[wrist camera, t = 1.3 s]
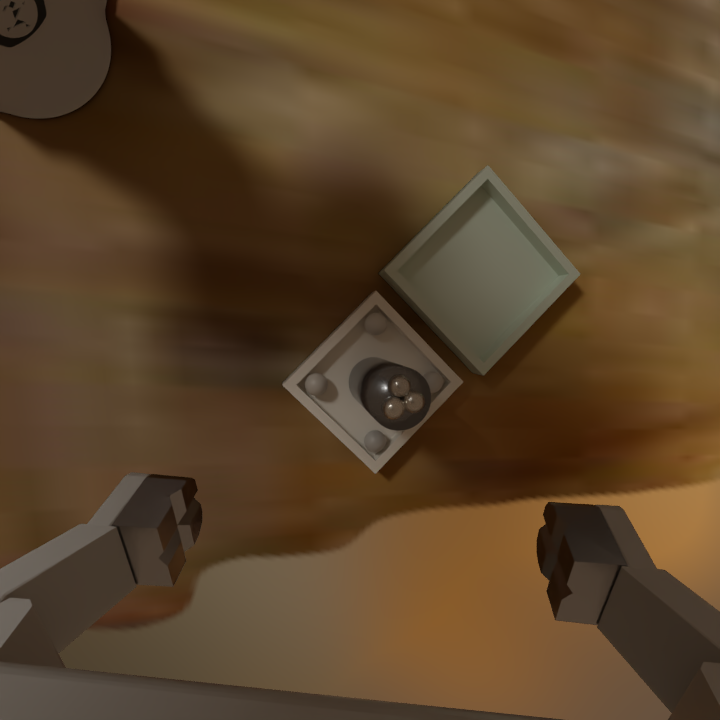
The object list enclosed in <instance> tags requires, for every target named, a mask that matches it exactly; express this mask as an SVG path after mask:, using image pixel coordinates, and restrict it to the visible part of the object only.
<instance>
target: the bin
mask: <svg viewBox="0 0 720 720" xmlns="http://www.w3.org/2000/svg"><path fill="white" fill-rule="evenodd" d="M378 274H379V275H380V276H381V277H382V278H383V279H384V280H385V281H386V282H387V283H388V284H389V285H390V286H391V287H392V288H393V289H394V290H395V292H396V293H397V294H398V295H399V296H400V297H401V298H402V299H403V300H404V301H405V302H406V303H407V304H408V305H409V306H410V307H411V308H412V309H413V311H414V312H415V313H416V314H417V315H418V316H419V317H420V318H421V319H422V320H423V321H424V322H425V323H426V324H427V325H428V326H429V327H430V328H431V330H432V331H433V332H434V333H435V334H436V335H437V336H438V337H439V338H440V339H441V340H442V341H443V342H444V343H445V344H446V345H447V346H448V347H449V349H450V350H451V351H452V352H453V353H454V354H455V355H456V356H457V357H458V358H459V359H460V360H461V361H462V362H463V363H464V364H465V365H466V367H467V368H468V369H469V370H470V371H471V372H472V373H475V374H479V375H483V376H484V375H485V374H486V373H487V372H488V371H489V370H490V368H491V367H492V366H493V365H494V364H495V363H496V362H497V361H498V360H499V359H500V358H501V357H502V356H503V355H504V354H505V353H506V352H507V351H508V350H509V349H510V348H511V346H512V345H513V344H514V343H515V342H516V341H517V340H518V339H519V338H520V337H521V336H522V335H523V334H524V333H525V332H526V331H527V330H528V329H529V328H530V327H531V326H532V324H533V323H534V322H535V321H536V320H537V319H538V318H539V317H540V316H541V315H542V314H543V313H544V312H545V311H546V310H547V309H548V308H549V307H550V306H551V305H552V304H553V302H554V301H555V300H556V299H557V298H558V297H559V296H560V295H561V294H562V293H563V292H564V291H565V290H566V289H567V288H568V287H569V286H570V285H571V284H572V283H573V282H574V280H575V279H576V278H577V277H578V276H579V275H580V273H579V272H578V271H577V270H576V268H575V267H574V266H573V265H572V264H571V262H570V261H569V260H568V259H567V258H566V257H565V255H564V254H563V253H562V252H561V251H560V249H559V248H558V247H557V246H556V245H555V244H554V242H553V241H552V240H551V239H550V238H549V236H548V235H547V234H546V233H545V232H544V231H543V229H542V228H541V227H540V226H539V225H538V223H537V222H536V221H535V220H534V219H533V218H532V216H531V215H530V214H529V213H528V212H527V210H526V209H525V208H524V207H523V206H522V205H521V203H520V202H519V201H518V200H517V199H516V197H515V196H514V195H513V194H512V193H511V192H510V190H509V189H508V188H507V187H506V186H505V184H504V183H503V182H502V181H501V180H500V179H499V177H498V176H497V175H496V174H495V173H494V171H493V170H492V169H491V168H490V167H489V166H486V167H485V168H484V169H482V170H481V171H480V172H479V173H477V174H476V175H475V176H474V177H473V178H472V179H471V180H470V181H469V182H468V183H467V184H466V185H465V186H464V187H463V188H462V189H461V190H460V191H459V192H458V193H457V194H456V195H455V196H454V197H453V198H452V199H451V200H450V201H449V202H448V203H447V204H446V205H445V206H444V207H443V208H442V209H441V210H440V211H439V212H438V213H437V214H436V215H435V216H434V218H433V219H432V220H431V221H430V222H429V223H428V224H427V225H426V226H425V227H424V228H423V229H422V230H421V231H420V232H419V233H418V234H417V235H416V236H415V237H414V238H413V239H412V240H411V241H410V242H409V243H408V244H407V245H406V246H405V247H404V248H403V249H402V250H401V251H400V252H399V253H398V254H397V255H396V256H395V257H394V258H393V259H392V260H391V261H390V262H389V263H388V264H387V265H386V266H385V267H384V268H383V269H382V270H381V271H380V272H379V273H378Z"/></svg>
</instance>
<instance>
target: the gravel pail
mask: <svg viewBox="0 0 720 720" xmlns="http://www.w3.org/2000/svg"><path fill="white" fill-rule="evenodd" d="M349 389H350V392H351V394H352V396H353V397H354V398H355V399H356V400H357V401H358V402H359V404H360V405H361V406H362V407H363V408H364V409H365V410H366V411H367V412H368V413H369V414H370V415H371V416H372V417H373V418H374V419H375V420H376V421H377V422H378V423H379V424H380V425H382V426H383V427H385V428H387V429H390V430H395V431H402V430H407V429H410V428H412V427H414V426H416V425H417V424H419V423H420V422H421V421H422V420H423V419H424V418H425V416H426V415H427V413H428V411H429V408H430V404H431V391H430V387H429V385H428V383H427V381H426V379H425V378H424V377H423V376H422V375H421V374H420V373H419V372H417V371H416V370H414V369H411V368H408V367H405V366H402V365H399V364H396V363H393V362H390V361H387V360H384V359H381V358H378V357H369V358H366V359H363V360H361V361H360V362H358V363H357V364H356V365H355V366H354V367H353V369H352V371H351V373H350V376H349Z"/></svg>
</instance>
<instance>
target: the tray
mask: <svg viewBox="0 0 720 720" xmlns="http://www.w3.org/2000/svg"><path fill="white" fill-rule="evenodd" d="M369 357H378V358H381V359H384V360H387V361H390V362H393V363H396V364H399V365H402V366H405V367H408V368H411V369H414V370H416V371H417V372H419V373H420V374H421V375H422V376H423V377H424V378H425V379H426V381H427V383H428V385H429V387H430V391H431V404H430V408H429V411H428V413H427V415H426V416H425V418H424V419H423V420H422V421H421V422H420V423H419V424H417V425H416V426H414V427H412V428H410V429H407V430H402V431H395V430H390V429H387V428H385V427H383V426H382V425H380V424H379V423H378V422H377V421H376V420H375V419H374V418H373V417H372V416H371V415H370V414H369V413H368V412H367V411H366V410H365V409H364V408H363V407H362V406H361V405H360V404H359V402H358V401H357V400H356V399H355V398H354V397H353V396H352V394H351V392H350V389H349V376H350V373H351V371H352V369H353V367H354V366H355V365H356V364H357V363H358V362H360V361H361V360H363V359H366V358H369ZM462 383H463V381H462V380H461V379H460V378H459V377H458V376H457V375H456V374H455V373H454V371H453V370H452V369H451V368H450V367H449V366H448V365H447V364H446V363H445V362H444V361H443V360H442V359H441V358H440V357H439V356H438V355H437V354H436V353H435V352H434V351H433V349H432V348H431V347H430V346H429V345H428V344H427V343H426V342H425V341H424V340H423V339H422V338H421V337H420V336H419V335H418V334H417V333H416V332H415V331H414V330H413V329H412V328H411V326H410V325H409V324H408V323H407V322H406V321H405V320H404V319H403V318H402V317H401V316H400V315H399V314H398V313H397V312H396V311H395V310H394V309H393V308H392V307H391V306H390V304H389V303H388V302H387V301H386V300H385V299H384V298H383V297H382V296H381V295H380V294H379V293H378V292H377V291H374V292H372V293H371V294H370V295H369V296H368V297H367V298H366V299H365V300H364V301H363V302H362V303H361V304H360V305H359V306H358V307H357V308H356V309H355V310H354V311H353V312H352V313H351V314H350V315H349V316H348V317H347V318H346V319H345V320H344V321H343V322H342V323H341V324H340V325H339V326H338V327H337V328H336V329H335V330H334V331H333V332H332V333H331V334H330V335H329V336H328V337H327V338H326V339H325V340H324V341H323V342H322V343H321V344H320V345H319V346H318V347H317V348H316V349H315V350H314V351H313V352H312V353H311V354H310V355H309V356H308V357H307V358H306V359H305V360H304V361H303V362H302V363H301V364H300V365H299V366H298V367H297V368H296V369H295V370H294V371H293V372H292V373H291V374H290V375H289V376H288V377H287V378H286V379H285V380H284V381H283V384H282V385H283V386H284V387H285V388H286V389H287V390H288V391H289V392H290V393H291V394H292V395H293V396H294V397H295V398H296V399H297V400H298V401H299V402H300V403H302V404H303V405H304V406H305V407H306V408H307V409H308V410H309V411H310V412H311V413H312V414H313V415H314V416H315V417H316V418H317V419H318V420H319V421H320V422H322V423H323V424H324V425H325V426H326V427H327V428H328V429H329V430H330V431H331V432H332V433H333V434H334V435H335V436H336V437H337V438H338V439H339V440H340V441H342V442H343V443H344V444H345V445H346V446H347V447H348V448H349V449H350V450H351V451H352V452H353V453H354V454H355V455H356V456H357V457H358V458H359V459H360V460H362V461H363V462H364V463H365V464H366V465H367V466H368V467H369V468H370V469H371V470H372V471H373V472H374V473H375V474H376V473H377V472H378V471H379V470H380V469H381V468H382V467H383V465H384V464H385V463H386V462H387V461H388V460H389V459H390V458H391V457H392V456H393V455H394V454H395V453H396V452H397V451H398V450H399V449H400V448H401V447H402V446H403V445H404V444H405V442H406V441H407V440H408V439H409V438H410V437H411V436H412V435H413V434H414V433H415V432H416V431H417V430H418V429H419V428H420V427H421V426H422V425H423V424H424V423H425V422H426V421H427V420H428V418H429V417H430V416H431V415H432V414H433V413H434V412H435V411H436V410H437V409H438V408H439V407H440V406H441V405H442V404H443V403H444V402H445V401H446V400H447V399H448V398H449V397H450V395H451V394H452V393H453V392H454V391H455V390H456V389H457V388H458V387H459V386H460V385H461V384H462Z"/></svg>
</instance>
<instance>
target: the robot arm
mask: <svg viewBox="0 0 720 720" xmlns="http://www.w3.org/2000/svg"><path fill="white" fill-rule="evenodd" d="M106 3H107V0H0V112H4V113H8V114H12V115H16V116H20V117H25V118H36V119H39V118H52V117H57V116H61V115H64V114H67V113H70V112H72V111H74V110H76V109H78V108H79V107H81V106H82V105H84V104H85V103H86V102H88V101H89V100H90V99H91V98H92V97H93V96H94V95H95V94H96V92H97V91H98V90H99V88H100V87H101V85H102V84H103V82H104V80H105V77H106V75H107V72H108V69H109V65H110V59H111V40H110V34H109V30H108V26H107V22H106V16H105V8H106ZM197 491H198V489H197V485H196V481H195V479H193V478H190V477H179V476H169V475H158V474H143V473H133V472H132V473H130V474H128V475H126V476H125V477H124V478H123V479H122V481H121V482H120V483H119V484H118V486H117V487H116V488H115V489H114V491H113V492H112V493H111V494H110V496H109V497H108V498H107V500H106V501H105V502H104V503H103V505H102V506H101V507H100V508H99V510H98V511H97V512H96V513H95V515H94V516H93V517H92V518H91V520H90V521H89V522H88V524H80V525H78V526H76V527H74V528H72V529H71V530H69V531H67V532H65V533H64V534H62V535H60V536H58V537H56V538H55V539H53V540H51V541H49V542H48V543H46V544H44V545H42V546H40V547H39V548H37V549H35V550H33V551H31V552H30V553H28V554H26V555H24V556H23V557H21V558H19V559H17V560H15V561H14V562H12V563H10V564H8V565H7V566H5V567H3V568H1V569H0V720H561V719H552V718H542V717H532V716H523V715H514V714H503V713H494V712H484V711H474V710H465V709H456V708H446V707H436V706H427V705H426V706H425V705H417V704H407V703H398V702H387V701H378V700H369V699H358V698H349V697H339V696H330V695H320V694H310V693H300V692H291V691H281V690H272V689H262V688H252V687H242V686H232V685H223V684H214V683H203V682H195V681H194V682H193V681H184V680H175V679H166V678H155V677H147V676H137V675H127V674H118V673H107V672H98V671H89V670H79V669H69V668H66V667H65V665H64V664H63V661H62V660H61V658H60V656H59V654H58V653H60V652H61V651H62V650H63V649H64V648H65V647H66V646H68V645H69V644H70V643H71V642H72V641H74V640H75V639H76V638H77V637H78V636H79V635H81V634H82V633H83V632H84V631H85V630H86V629H88V628H89V627H90V626H91V625H92V624H93V623H95V622H96V621H97V620H98V619H99V618H100V617H102V616H103V615H104V614H105V613H106V612H107V611H109V610H110V609H111V608H112V607H113V606H114V605H116V604H117V603H118V602H119V601H120V600H121V599H123V598H124V597H125V596H126V595H127V594H128V593H130V592H131V591H132V590H133V589H134V588H135V587H136V584H138V585H155V586H172V587H173V586H174V584H175V582H176V580H177V578H178V576H179V574H180V572H181V570H182V568H183V566H184V564H185V562H186V558H185V554H184V552H185V551H186V550H188V549H189V548H190V547H192V546H193V545H194V544H195V542H196V540H197V538H198V536H199V533H200V529H201V524H202V508H201V504H200V503H199V502H198V501H197V500H196V499H195V498H194V496H195V494H196V492H197ZM543 516H544V519H545V522H546V524H545V525H544V526H543V527H541V528H540V529H539V533H538V537H537V557H538V563H539V567H540V570H541V573H542V574H543V575H544V576H545V577H546V578H547V579H548V580H549V584H548V588H547V594H548V598H549V601H550V604H551V607H552V611H553V614H554V617H555V620H558V621H566V622H576V623H584V624H593V625H598V626H597V628H598V629H599V630H600V631H601V632H602V633H603V634H604V636H605V637H606V638H607V639H608V640H609V641H610V643H611V644H612V645H613V646H614V647H615V648H616V649H617V651H618V652H619V653H620V654H621V655H622V656H623V658H624V659H625V660H626V661H627V662H628V663H629V664H630V665H631V667H632V668H633V669H634V670H635V671H636V672H637V673H638V675H639V676H640V677H641V678H642V679H643V680H644V682H645V683H646V684H647V685H648V686H649V687H650V689H651V690H652V691H653V692H654V693H655V694H656V695H657V697H658V698H659V699H660V700H661V701H662V702H663V703H664V705H665V706H666V707H667V708H668V709H669V710H670V712H671V713H672V714H671V716H670V718H669V719H668V720H720V612H719V611H718V610H717V609H715V608H714V607H713V606H711V605H710V604H709V603H707V602H706V601H705V600H703V599H702V598H701V597H700V596H698V595H697V594H695V593H694V592H693V591H692V590H690V589H689V588H688V587H686V586H685V585H684V584H682V583H681V582H680V581H679V580H677V579H676V578H675V577H673V576H672V575H671V574H669V573H668V572H667V571H665V570H660V569H657V568H656V566H655V565H654V563H653V561H652V559H651V558H650V556H649V554H648V552H647V550H646V549H645V547H644V545H643V543H642V542H641V540H640V538H639V536H638V534H637V533H636V531H635V529H634V527H633V525H632V524H631V522H630V520H629V519H628V517H627V515H626V513H625V511H624V510H623V509H622V508H621V507H620V506H609V505H589V504H572V503H556V502H548V504H547V505H546V506H545V510H544V513H543Z"/></svg>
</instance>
